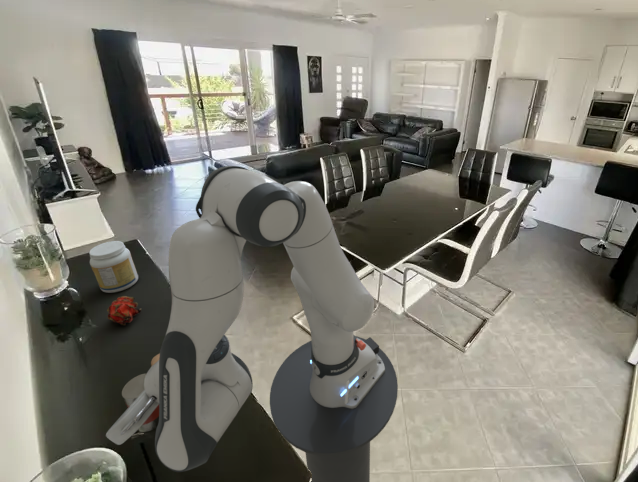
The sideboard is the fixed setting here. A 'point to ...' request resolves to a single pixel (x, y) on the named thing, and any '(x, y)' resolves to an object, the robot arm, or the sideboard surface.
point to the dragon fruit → (123, 310)
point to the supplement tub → (113, 266)
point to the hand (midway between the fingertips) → (142, 400)
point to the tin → (131, 394)
